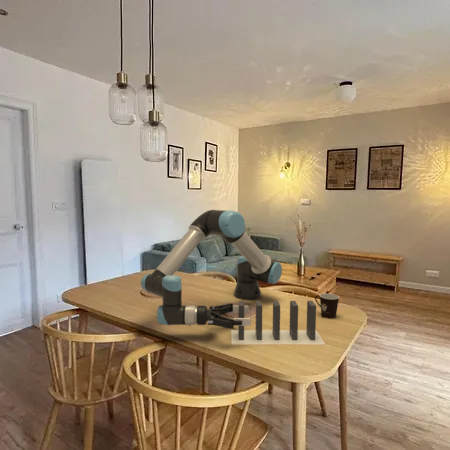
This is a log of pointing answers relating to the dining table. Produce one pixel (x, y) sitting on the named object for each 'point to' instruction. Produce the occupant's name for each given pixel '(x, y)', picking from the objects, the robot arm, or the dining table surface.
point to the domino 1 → (241, 315)
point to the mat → (269, 339)
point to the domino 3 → (276, 320)
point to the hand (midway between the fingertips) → (249, 315)
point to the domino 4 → (293, 320)
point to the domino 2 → (258, 320)
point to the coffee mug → (328, 305)
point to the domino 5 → (311, 320)
